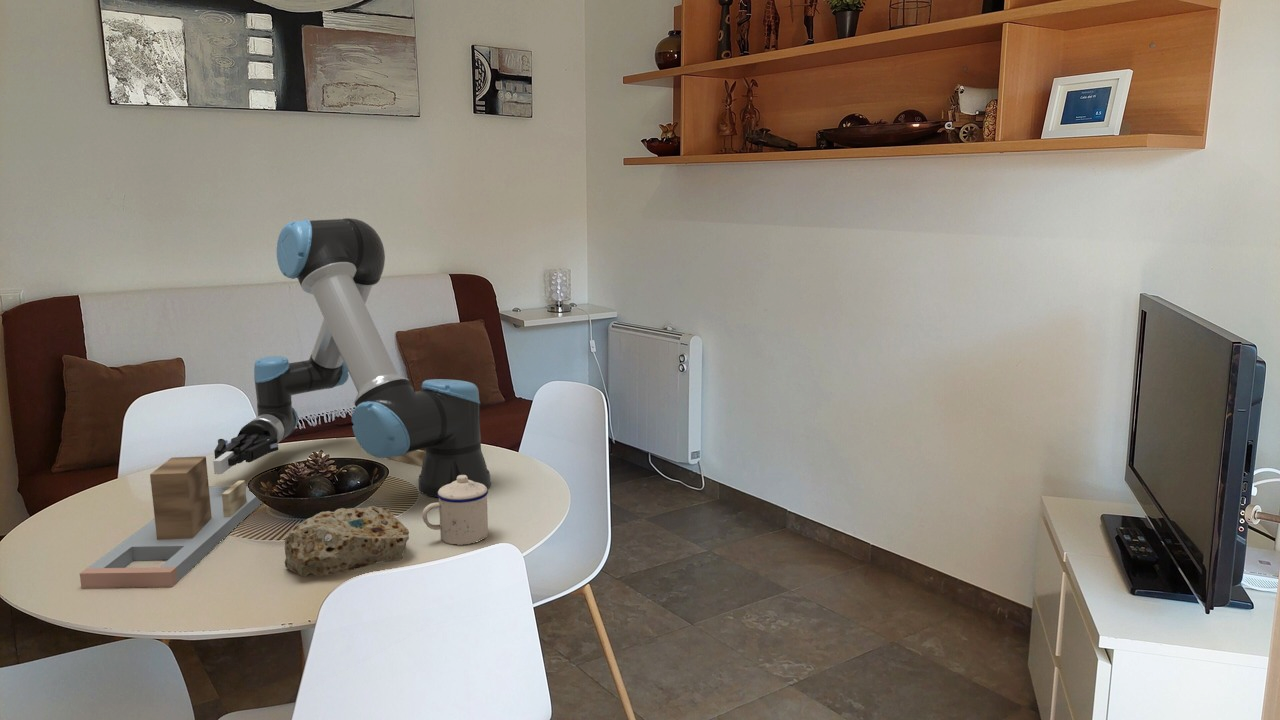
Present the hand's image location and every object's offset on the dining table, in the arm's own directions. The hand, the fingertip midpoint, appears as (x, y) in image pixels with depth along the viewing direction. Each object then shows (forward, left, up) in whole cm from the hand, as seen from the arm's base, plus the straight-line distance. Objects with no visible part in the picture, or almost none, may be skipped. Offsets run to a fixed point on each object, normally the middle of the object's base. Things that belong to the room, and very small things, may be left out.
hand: (217, 467), depth 183 cm
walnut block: (-11, +14, -6) cm, 18 cm away
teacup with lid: (-51, -14, -9) cm, 53 cm away
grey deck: (-9, +12, -9) cm, 17 cm away
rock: (-42, +3, -9) cm, 43 cm away
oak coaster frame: (-8, -49, -9) cm, 51 cm away
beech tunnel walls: (-4, +6, -6) cm, 10 cm away
